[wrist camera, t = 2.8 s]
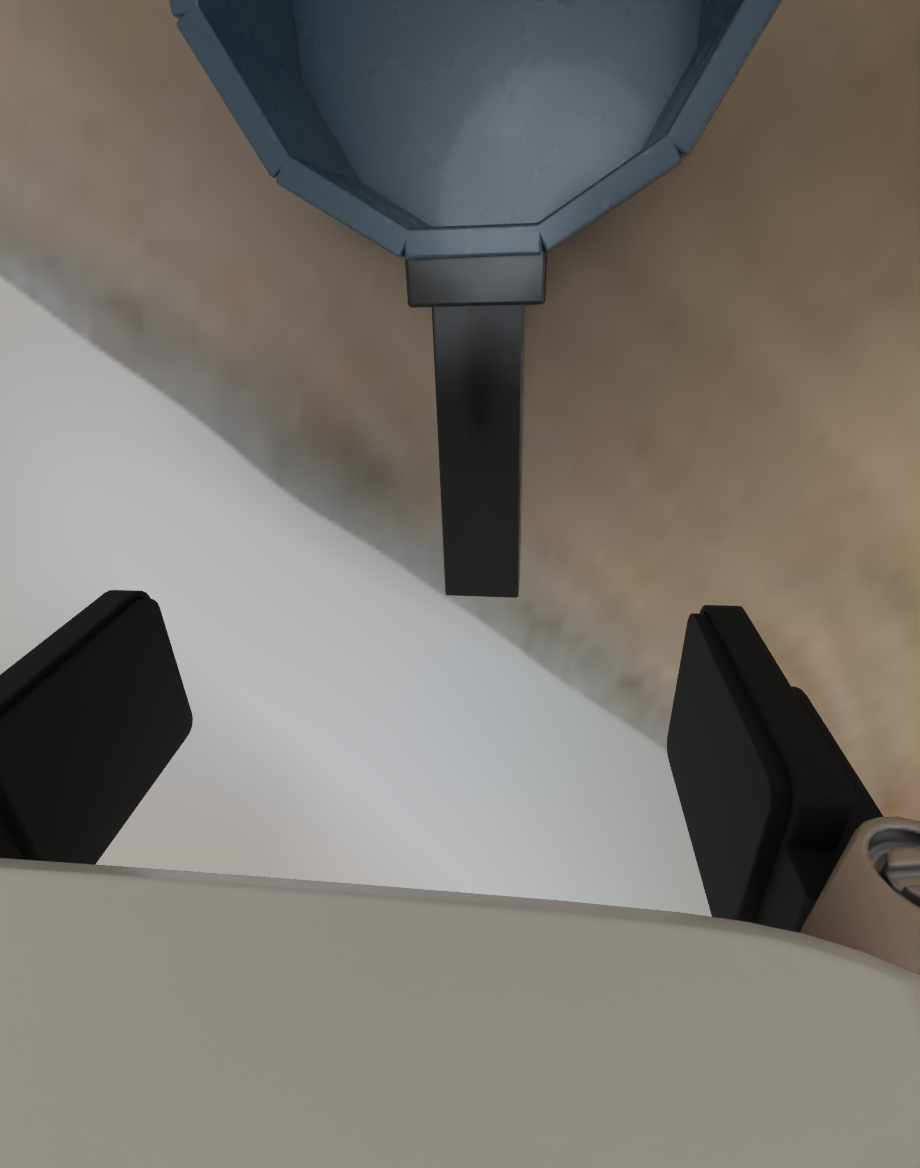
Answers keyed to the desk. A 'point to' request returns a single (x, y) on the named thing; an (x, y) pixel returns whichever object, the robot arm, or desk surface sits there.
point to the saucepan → (472, 172)
